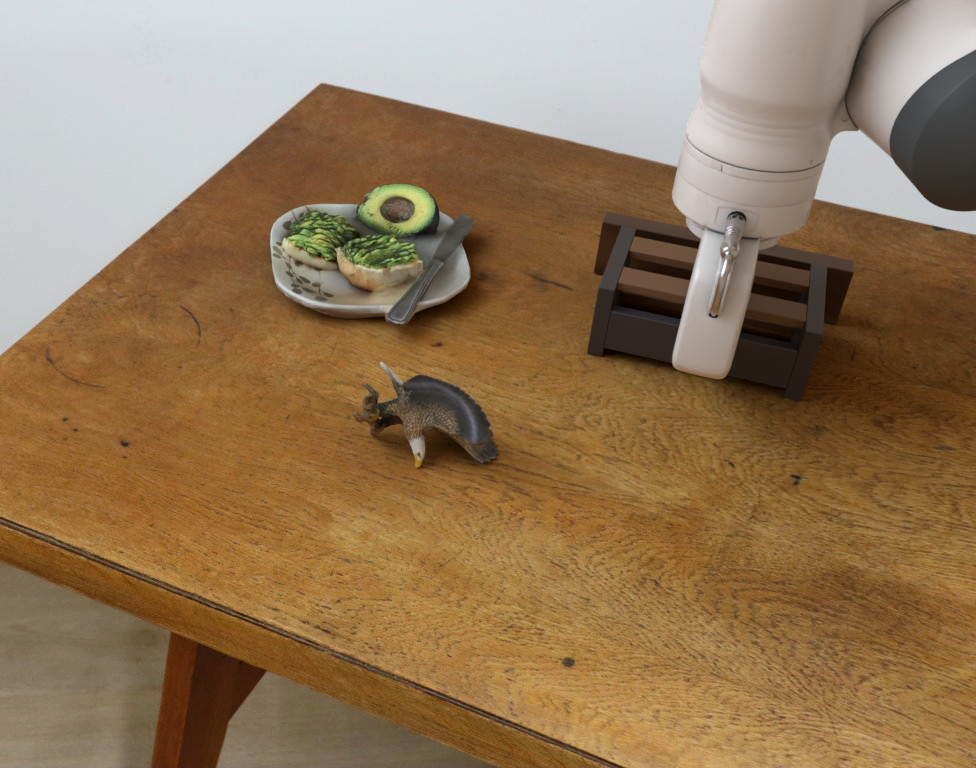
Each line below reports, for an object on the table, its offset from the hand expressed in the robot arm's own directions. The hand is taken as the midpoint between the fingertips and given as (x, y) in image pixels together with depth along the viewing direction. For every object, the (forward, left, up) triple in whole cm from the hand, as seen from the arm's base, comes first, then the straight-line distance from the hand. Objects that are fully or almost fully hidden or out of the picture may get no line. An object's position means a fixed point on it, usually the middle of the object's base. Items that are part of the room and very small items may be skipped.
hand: (700, 354), depth 80 cm
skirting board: (-6, -13, -3) cm, 15 cm away
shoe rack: (-2, -6, -3) cm, 7 cm away
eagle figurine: (+20, +6, -3) cm, 22 cm away
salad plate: (+22, -18, -3) cm, 29 cm away
